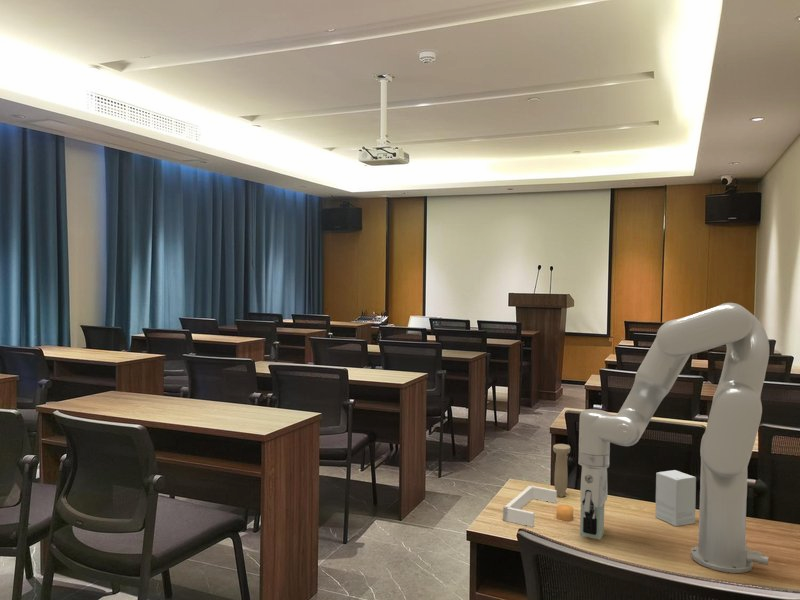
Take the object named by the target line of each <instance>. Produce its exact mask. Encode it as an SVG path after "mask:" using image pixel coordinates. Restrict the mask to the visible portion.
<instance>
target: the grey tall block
mask: <svg viewBox="0 0 800 600" xmlns="http://www.w3.org/2000/svg"><path fill="white" fill-rule="evenodd" d="M591 505H592V506H594V504H592V503H591ZM590 509H591V510H592V512H593V509H592V508H590ZM583 517H584V505H582V504H581V503H580V517H579V518H580V523H579V524H580V525H579V527H580V528H579V536H583V537H587V538H591V539H595V540H599V541H600V540H601V539H602V538H603V536H604V533H605V531H604V530H605V529H604V528H605V503H604V504H603V506H602V507H601V508H599V509H598V508H597V507H596V519H597V533H596V535H593V534H588V533H584V532H583Z"/></svg>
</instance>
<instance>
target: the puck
mask: <svg viewBox="0 0 800 600" xmlns="http://www.w3.org/2000/svg"><path fill="white" fill-rule="evenodd" d="M555 516H556V517H557V518H556V519H557V520H559V521H561V520H562V521H561V522H572V521H573V520H574V507H573V506H570V505H568V504H557V505H556V515H555Z"/></svg>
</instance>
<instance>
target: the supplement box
mask: <svg viewBox="0 0 800 600" xmlns="http://www.w3.org/2000/svg"><path fill="white" fill-rule="evenodd" d="M655 476H656V477H655V518H657V519H659V520H661V521H663V522H665V523H668V524H670V525H673V526H675V527H679V526H686V525H691V524H695V523H696V500H697V499H696V498H697V497H696V494H697V493H696V492H697V490H696V489H697V477H696V476H693V475H690V474H688V473H684V472H682V471H680V470H676V469H673V470H665V471H659V472H655Z"/></svg>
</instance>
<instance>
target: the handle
mask: <svg viewBox="0 0 800 600" xmlns="http://www.w3.org/2000/svg"><path fill="white" fill-rule="evenodd" d="M552 450H553V452H554V453H555V463H554V479H553V481H554V490H557V497H558V496H560V498H563V496H565V497H566V495H567V489H568V454H570V453H571V446H570V444H565V443H556V444H553V446H552Z"/></svg>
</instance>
